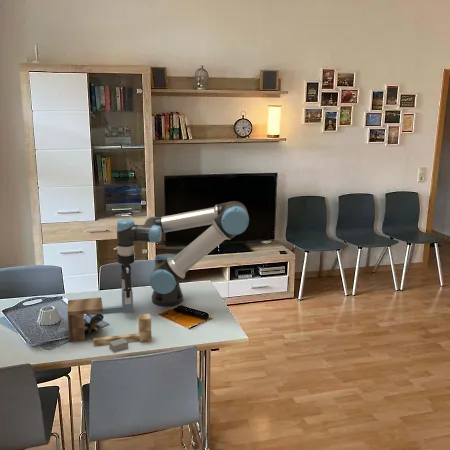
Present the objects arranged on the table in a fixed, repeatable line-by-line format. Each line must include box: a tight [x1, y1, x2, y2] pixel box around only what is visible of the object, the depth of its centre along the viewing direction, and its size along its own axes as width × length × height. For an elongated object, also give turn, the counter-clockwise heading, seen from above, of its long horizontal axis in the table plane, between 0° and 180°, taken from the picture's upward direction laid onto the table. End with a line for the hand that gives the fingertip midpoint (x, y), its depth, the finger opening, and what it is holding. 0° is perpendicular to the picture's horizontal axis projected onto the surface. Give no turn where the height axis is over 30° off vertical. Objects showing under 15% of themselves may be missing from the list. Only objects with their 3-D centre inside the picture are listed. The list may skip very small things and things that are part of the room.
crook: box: [84, 287, 134, 322], centre depth 221 cm, size 22×12×10 cm, turn 107°
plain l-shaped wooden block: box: [93, 313, 152, 347], centre depth 198 cm, size 22×4×10 cm, turn 107°
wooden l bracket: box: [67, 296, 104, 343], centre depth 204 cm, size 14×12×13 cm
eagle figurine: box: [84, 314, 105, 335], centre depth 208 cm, size 8×7×9 cm
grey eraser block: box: [108, 338, 129, 353], centre depth 194 cm, size 6×4×3 cm, turn 127°
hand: (126, 298), depth 227 cm, fingers open, 13 cm apart
